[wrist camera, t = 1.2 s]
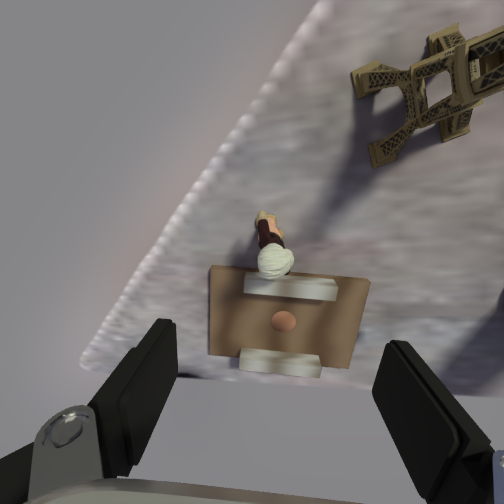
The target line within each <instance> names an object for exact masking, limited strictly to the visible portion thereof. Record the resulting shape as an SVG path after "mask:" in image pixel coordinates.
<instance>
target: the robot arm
mask: <svg viewBox="0 0 504 504" xmlns="http://www.w3.org/2000/svg"><path fill="white" fill-rule="evenodd" d="M177 374H178V358H177V337H176V324H175V323H172V320H171V319H161V318H158V319H157V320H156V321H155V323H154V324H153V325H152V327H151V328H150V329H149V331H148V332H147V333H146V335H145V336H144V337H143V339H142V340H141V342H140V343H139V344H138V346H137V347H136V348H135V347H134V348H132V349H130V350H129V352H128V353H127V354H126V355H125V357H124V358H123V359H122V361H121V362H120V363H119V365H118V366H117V367H116V368H115V370H114V371H113V372H112V374H111V375H110V376H109V378H108V379H107V380H106V382H105V383H104V384H103V385H102V387H101V388H100V389H99V391H98V392H97V393H96V394H95V396H94V397H93V398H92V400H91V401H90V402H89V403H88V405H87V406H84V405H78V406H73V407H70V408H67V409H65V410H63V411H61V412H59V413H57V414H56V415H54V416H53V417H52V418H50V419H49V420H48V421H47V422H46V423H45V424H44V425H43V426H42V427H41V429H40V430H39V432H38V433H37V435H36V438H35V441H34V442H32V443H30V444H28V445H26V446H24V447H22V448H21V449H19V450H17V451H15V452H13V453H11V454H9V455H7V456H5V457H3V458H1V459H0V504H361V503H353V502H345V501H336V500H328V499H319V498H311V497H302V496H294V495H284V494H277V493H268V492H259V491H250V490H241V489H232V488H223V487H214V486H205V485H196V484H187V483H177V482H165V481H154V480H143V479H120V478H117V476H125V477H128V476H129V473H130V471H131V469H132V467H133V465H138V463H139V462H140V459H141V457H142V455H143V453H144V451H145V448H146V446H147V444H148V441H149V439H150V437H151V434H152V432H153V429H154V428H155V426H156V423H157V421H158V419H159V416H160V414H161V412H162V409H163V407H164V405H165V403H166V400H167V398H168V396H169V394H170V391H171V389H172V387H173V385H174V382H175V380H176V377H177ZM372 395H373V398H374V401H375V403H376V405H377V407H378V409H379V411H380V413H381V415H382V418H383V420H384V422H385V424H386V426H387V428H388V430H389V432H390V434H391V436H392V439H393V441H394V443H395V445H396V447H397V449H398V451H399V453H400V456H401V458H402V460H403V462H404V464H405V466H406V468H407V470H408V473H409V475H410V477H411V479H412V481H413V483H414V485H415V487H416V489H417V491H418V493H419V495H420V496H421V497H422V498H423V499H425V500H426V502H427V504H504V450H498V451H496V452H495V451H494V449H493V448H492V447H491V446H490V443H491V441H490V440H489V439H488V437H487V436H486V435H485V434H484V432H483V431H482V430H481V429H480V428H479V426H478V425H477V424H476V423H475V422H474V420H473V419H472V418H471V417H470V416H469V415H468V413H467V412H466V411H465V410H464V408H463V407H462V406H461V405H460V404H459V402H458V401H457V400H456V399H455V398H454V396H453V395H452V394H451V393H450V392H449V390H448V389H447V388H446V387H445V386H444V384H443V383H442V382H441V381H440V380H439V378H438V377H437V376H436V375H435V374H434V372H433V371H432V370H431V369H430V368H429V366H428V365H427V364H426V363H425V362H424V360H423V359H422V358H421V357H420V356H419V354H418V353H417V352H416V351H415V350H414V348H413V347H412V346H411V345H410V344H409V343H408V342H407V341H399V340H391V341H390V343H387V344H386V346H385V349H384V352H383V356H382V359H381V362H380V365H379V369H378V372H377V375H376V378H375V381H374V385H373V388H372Z"/></svg>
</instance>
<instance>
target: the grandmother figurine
mask: <svg viewBox="0 0 504 504" xmlns="http://www.w3.org/2000/svg"><path fill="white" fill-rule="evenodd" d="M257 216H258V217H257V218H256V225H257V227H258V231H259V235H258V241H259V247H260V248H261V251H260V252H259V255H258V268H259V272H260V275H261V276H262V277H263V278H265V279H268V280H272V279H278V278H280V277H282V276H284V275H289V273H290V268H291V266H292V265H293V262H294V257H293V254H292V252H291V251H290V250H289V249H285V247H284V243H283V241H282V238H283V237H284V234H283V232H282V230H280V229H277V228H276V225H275V224H276V217H275V216H274V215H267V214H266V212H265V211H260V212H259V213H258V215H257Z"/></svg>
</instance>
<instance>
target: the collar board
mask: <svg viewBox="0 0 504 504" xmlns="http://www.w3.org/2000/svg"><path fill="white" fill-rule="evenodd" d="M370 283H371V282H370V281H369V280H368V279H364V278H353V277H341V276H330V275H318V274H307V273H295V272H290V273H289V275H284V276H282V277H280V278H278V279H272V280H268V279H265V278H263V277H262V276H261V275H260V272H259V269H250V268H238V267H227V266H215V265H212V267H211V268H210V355H220V356H229V357H239V358H240V359H239V370H247V371H256V372H265V373H275V374H284V375H294V376H303V377H313V378H320V373H321V369H322V367H321V366H325V367H335V368H345V369H349V365H350V361H351V357H352V353H353V350H354V346H355V342H356V338H357V334H358V330H359V326H360V322H361V318H362V314H363V311H364V307H365V303H366V299H367V295H368V291H369V287H370Z"/></svg>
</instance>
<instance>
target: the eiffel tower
mask: <svg viewBox="0 0 504 504" xmlns="http://www.w3.org/2000/svg"><path fill="white" fill-rule="evenodd" d="M428 44H429V51H430V57H429V58H427V59H425V60H422V61H420V62H418V63H415V64H413V65H411V66H410V69H409V70H408V71H402V70H399V69H396V68H393V67H390V66H387V65H384V64H381V63H379V62H378V60H376V61H374V62H371V63H369V64H367V65H365V66H363V67H361V68H358V69H356V70H354V71H352V72H351V74H352V78H353V83H354V87H355V91H356V96H357V99H359V98H362V97H364V96H366V95H368V94H371V93H373V92H375V91H378V90H380V89H383V88H388V87H394V86H399V88H400V89H401V91H402V94H403V96H404V99H405V103H406V121H405V124H404V125H403V126H402V127H400V128H399V129H398V130H396V131H395V132H394V133H392V134H391V135H389V136H388V137H387V138H385V139H382V140H380V141H377V142H375V143H372V144H370V145H368V149H369V154H370V158H371V163H372V167H373V168H376V167H379V166H381V165H384V164H386V163H389V162H392V161H394V160H397V156H398V154H399V152H400V151H401V149H402V148H403V146H404V145H405V144H406V142H407V141H408V139H409V138H410V136H411V135H412V134H413V132H414V131H415V129H418V128H423V127H426V126H428V125H431V124H434V123H436V122H439V124H440V131H441V138H442V142H444V141H447V140H449V139H452V138H455V137H457V136H460V135H463V134H465V133H468V132H470V129H469V122H470V118H471V115H472V110H473V108H474V107H476V106H479V105H481V104H483V100H482V98H485V97H487V96H490V95H492V94H495V93H497V92H500V91H502V90H504V25H503V26H501V27H499V28H497V29H494V30H492V31H490V32H488V33H486V34H483V35H481V36H479V37H478V36H476V37H474V38H472V39H469V40H467V41H466V40H465V38H464V37H463V36H462V34H461V33H460V31H459V23H456V24H454V25H452V26H450V27H447V28H445V29H443V30H441V31H439V32H436V33H434V34H432V35H430V36H428ZM478 59H479V65H480V76H481V77H479V68H478ZM446 70H447V71H448V72H449V73H450V77H451V85H452V94H451V95H450V96H448V97H446V98H445V99H443V100H441V101H439V102H438V103H436V104H434V105H433V106H432V107H430V108H429V109H428V103H427V97H426V89H425V82H424V79H425V78H426V77H429V76H432V75H435V74H438V73H440V72H443V71H446Z"/></svg>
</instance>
